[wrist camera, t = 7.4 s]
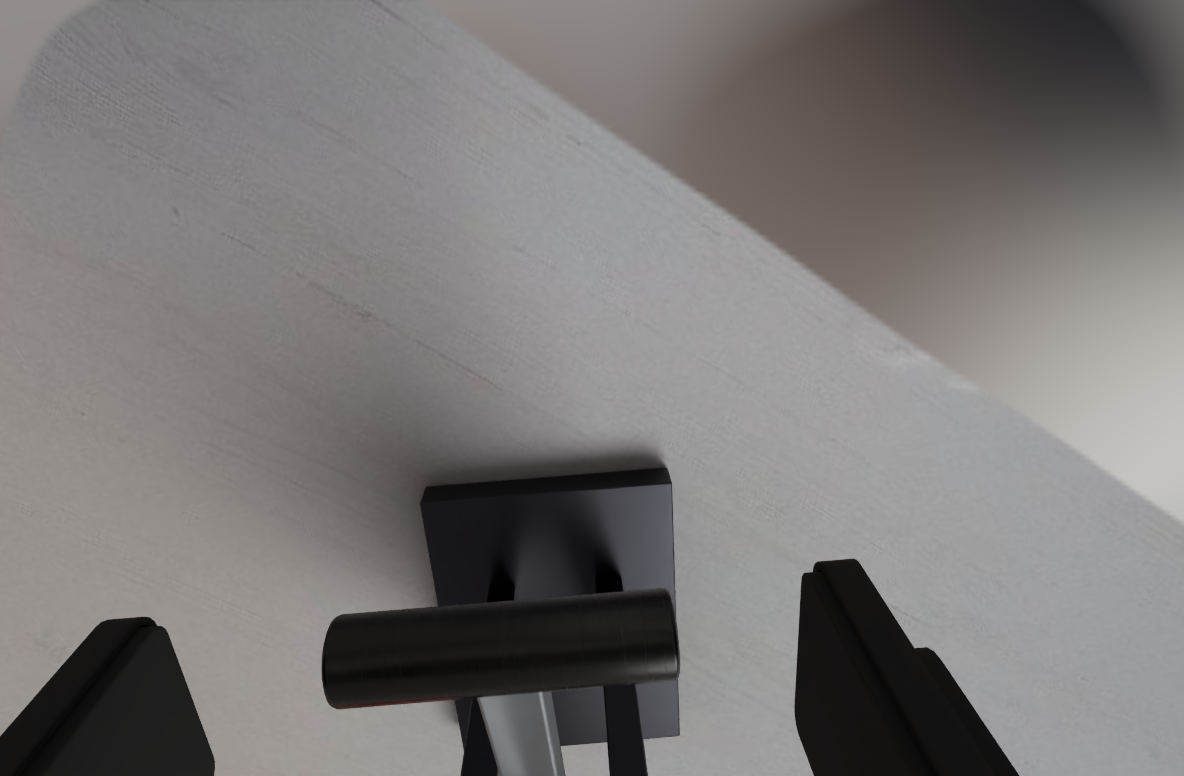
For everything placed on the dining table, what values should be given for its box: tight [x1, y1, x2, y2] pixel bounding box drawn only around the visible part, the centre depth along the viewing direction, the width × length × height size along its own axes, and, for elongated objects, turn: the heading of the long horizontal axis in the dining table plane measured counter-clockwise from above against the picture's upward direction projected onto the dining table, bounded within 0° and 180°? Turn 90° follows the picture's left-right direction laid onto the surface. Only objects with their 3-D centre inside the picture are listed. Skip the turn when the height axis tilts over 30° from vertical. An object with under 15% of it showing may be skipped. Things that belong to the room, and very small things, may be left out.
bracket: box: [420, 468, 680, 776], centre depth 23 cm, size 12×9×13 cm
